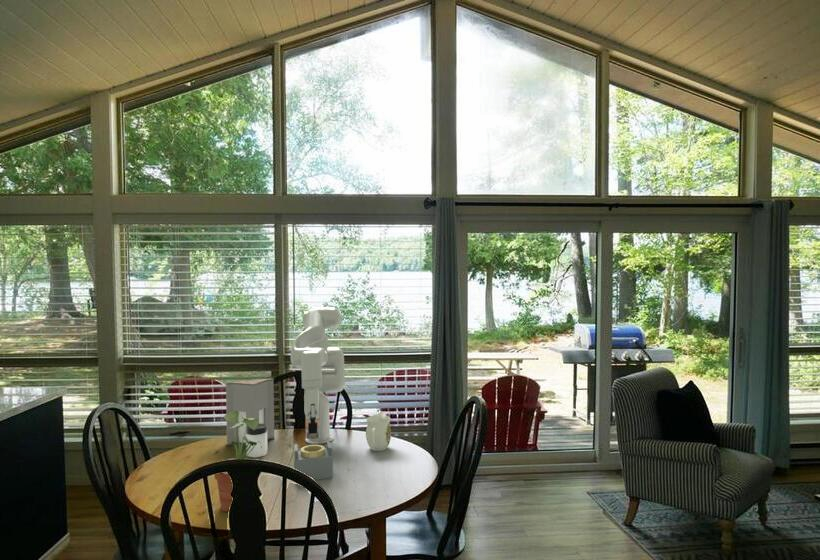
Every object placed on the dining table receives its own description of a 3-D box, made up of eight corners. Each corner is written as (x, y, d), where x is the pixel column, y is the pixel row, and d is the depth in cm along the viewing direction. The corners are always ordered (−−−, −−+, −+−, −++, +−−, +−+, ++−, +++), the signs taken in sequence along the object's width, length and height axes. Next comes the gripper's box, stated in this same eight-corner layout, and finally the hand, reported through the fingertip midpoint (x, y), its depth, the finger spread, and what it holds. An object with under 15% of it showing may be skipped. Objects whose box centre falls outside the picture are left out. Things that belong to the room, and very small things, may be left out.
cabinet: (273, 437, 242) (272, 378, 242) (277, 443, 234) (276, 382, 233) (226, 444, 234) (225, 382, 234) (228, 450, 225) (227, 386, 225)
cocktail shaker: (305, 435, 198) (304, 400, 198) (318, 434, 199) (318, 399, 199) (306, 439, 193) (305, 403, 193) (319, 438, 194) (319, 402, 194)
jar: (271, 452, 222) (271, 424, 222) (258, 458, 214) (258, 430, 214) (256, 449, 226) (255, 422, 226) (242, 455, 218) (241, 427, 218)
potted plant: (263, 511, 165) (262, 402, 165) (213, 518, 161) (211, 406, 161) (263, 492, 180) (261, 392, 180) (216, 498, 176) (215, 396, 176)
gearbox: (294, 471, 199) (293, 443, 199) (330, 468, 202) (330, 440, 202) (294, 481, 189) (294, 451, 189) (332, 477, 193) (332, 448, 193)
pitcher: (360, 455, 216) (359, 423, 216) (371, 442, 234) (371, 412, 234) (385, 457, 214) (385, 424, 214) (395, 443, 232) (394, 412, 232)
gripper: (301, 379, 203) (301, 425, 203) (302, 388, 187) (303, 438, 187) (320, 378, 205) (320, 424, 205) (323, 387, 188) (324, 436, 188)
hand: (312, 430), depth 196 cm, fingers closed on cocktail shaker, 5 cm apart
